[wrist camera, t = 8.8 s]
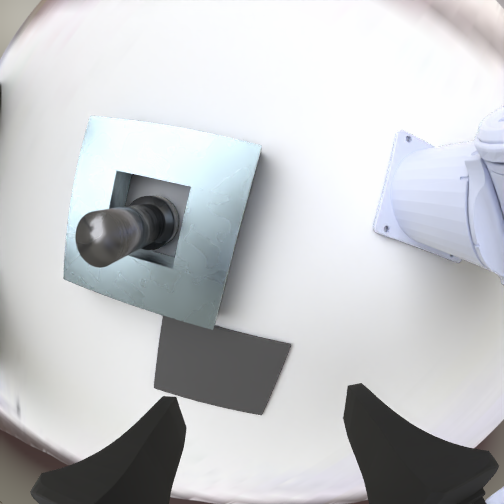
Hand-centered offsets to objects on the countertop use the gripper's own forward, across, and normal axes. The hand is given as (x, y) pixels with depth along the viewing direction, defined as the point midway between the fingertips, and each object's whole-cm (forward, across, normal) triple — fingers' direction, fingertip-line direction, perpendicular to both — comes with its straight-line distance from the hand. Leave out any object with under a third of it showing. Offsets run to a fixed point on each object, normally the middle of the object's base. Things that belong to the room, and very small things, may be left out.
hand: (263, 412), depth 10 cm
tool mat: (+10, +4, +5) cm, 12 cm away
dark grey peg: (+10, +7, -7) cm, 15 cm away
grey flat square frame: (+10, +7, -8) cm, 15 cm away
